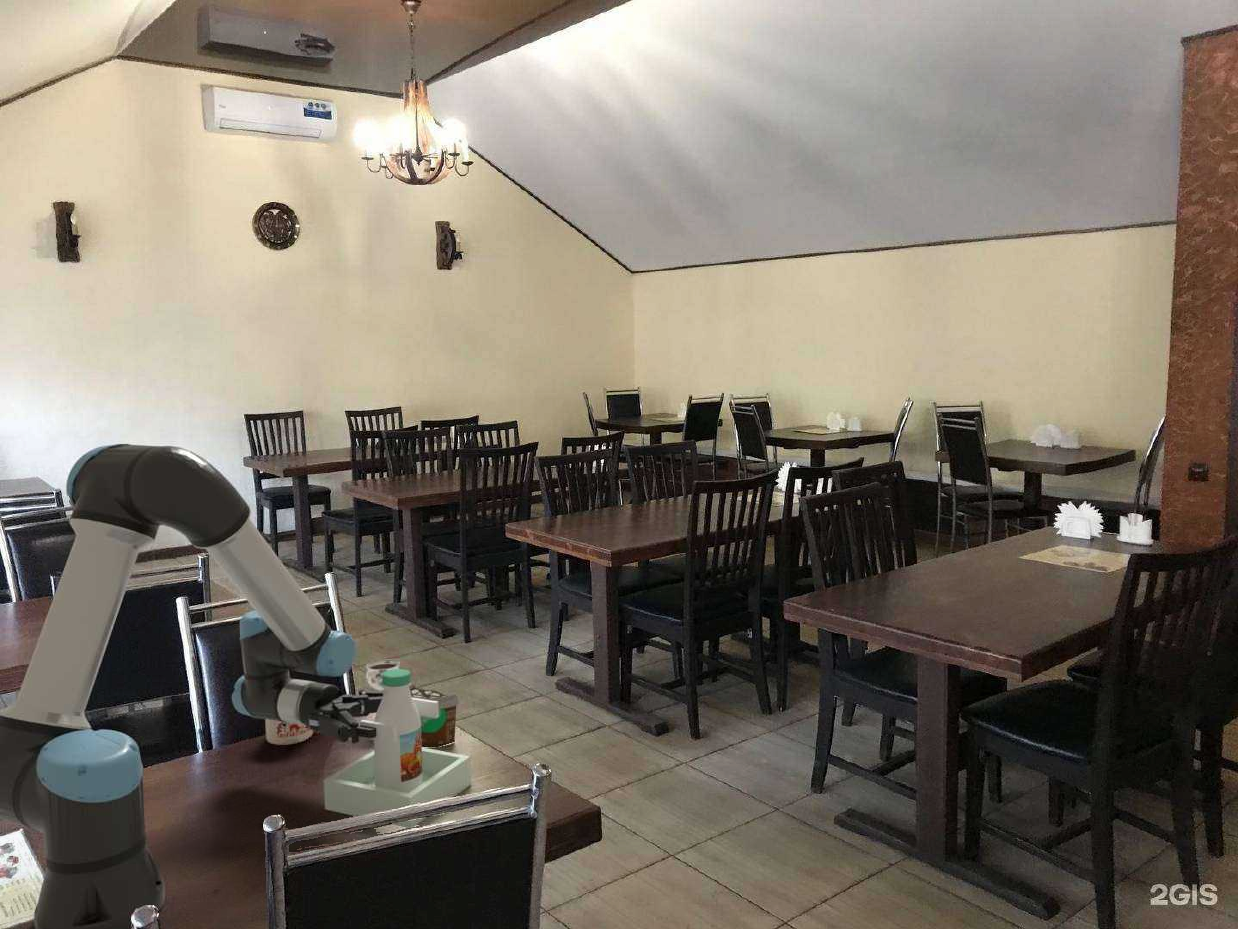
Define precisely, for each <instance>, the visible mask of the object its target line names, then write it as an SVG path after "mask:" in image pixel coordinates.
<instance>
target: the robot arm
mask: <svg viewBox="0 0 1238 929" xmlns="http://www.w3.org/2000/svg"><path fill="white" fill-rule="evenodd" d="M65 486H66V487H65V488H66V489H65V491H66V496H68V498H69V500H68V503H69V505H70V507H71V508H72V509H73V510H72V513H71V516H70V518H69V520H68V523H69V524H70V526H71V528H72V529H73V532H74V533H75V538H74V542H73V545H72V547H71V550H70V553H69V555H68V558H67V560H66V563H65V566H64V569H63V571H62V574H61V576H60V577H61V578H60V580H59V582H58V585H57V588H56V590H55V593H54V596H53V598H52V601H51V604H50V607H49V610H48V613H47V615H46V618H45V621H44V623H43V626H42V628H41V632H40V635H39V637H38V640H37V643H36V645H35V648H34V651H33V653H32V656H31V659H30V662H29V665H28V667H27V670H26V672H25V675H24V678H23V681H22V684H21V686H20V690H19V691H18V695H17V697H16V700H15V701H14V702H13V703H12V704H10V705H8V706H7V707H5V708H3V709H2V710H0V821H1V822H8V823H11V824H15V825H18V826H20V827H24V828H26V829H27V828H28V829H31V830H33V831H38V832H41V833H42V835H43V845H44V846H43V847H44V855H45V867H46V868H45V873H44V877H43V881H42V884H41V889H40V892H39V896H38V901H37V903H36V904H37V905H36V906H35V910H34V914H33V922H34V923H33V924H34V929H131V914H132V913H133V912H134V911H135V909H136V908H140V907H142V906H145V905H154V906H156V907H157V908H158V910H159V911H160V910H161V909H162V908H163V905H164V903H165V899H166V894H165V883H164V879H163V877H162V875H161V873H160V870H159V868H158V867H157V864H156V862H155V860H154V858H153V856H152V854H151V852H150V850H149V847H148V845H147V833H146V830H147V829H146V818H145V817H146V815H145V797H144V781H143V780H144V779H143V778H144V777H143V776H144V775H143V773H144V765H143V762H142V759H141V754H140V748H139V746H138V744H137V742H136V741H135V740H134V739H133V738H132V737H131V736H129V735H127V734H126V733H123V732H120V731H117V730H112V729H98V730H94V729H92V726H91V725H90V723H89V721H88V720H87V718H86V716H85V715H86V714H85V710H86V708H87V705H88V702H89V699H90V696H91V693H92V690H93V687H94V684H95V681H96V679H97V675H98V673H99V669H100V666H101V664H102V661H103V658H104V654H105V652H106V649H107V646H108V644H109V640H110V637H111V634H112V631H113V628H114V625H115V623H116V619H117V616H118V614H119V611H120V609H121V605H122V602H123V600H124V596H125V594H126V590H127V588H128V585H129V582H130V578H131V576H132V572H133V570H134V568H135V565H136V564H135V563H136V561H137V559H138V556H139V553H140V552H141V550H143V549H144V548H146V547H147V548H148V546H151V545H152V544H154V543H155V539H156V537H157V534H158V531H159V529H160V526H165V527H168V528H171V529H173V530H175V531H177V532H179V533H180V534H182V535H183V536H184V537H185V538H186V539H187V540H188V541H189V542H190V544H191V545H192V546H193V547H195V548H196V549H201V550H203V549H205V550H206V551H207V553H208V554H209V555H210V556H211V558H212V559H213V561H215V563H216V564H217V565H218V566H219V568H220V569H221V570H222V571H223V573H224V574H225V576H227V577H228V578H229V580H230V581H231V582H232V584H233V585H234V586H235V588H237V590H238V591H239V592H240V593H241V595H242V596H243V597H244V598H245V600H247V602H248V603H249V605H250V606H252V608H253V610H251V611H248V612H246V613H245V614H243V615H241V617H240V619H239V634H240V635H239V636H240V637H239V642H240V648H241V657H242V666H243V673H244V674H243V675H242V676H240V677H238V679H237V681H236V682H235V684H234V686H233V688H234V690H233V692H232V694H231V702H232V704H233V707H234V708H235V710H236V711H237V712H238V713H240V714H242V715H246V716H249V717H252V718H254V719H259V720H261V719H262V720H265V719H269V720H275V721H281V722H286V723H292V724H297V725H298V726H299V727H301V726H307V727H310V729H311V730H313V731H317V732H320V733H322V734H324V735H326V736H329V737H330V738H332V739H334V740H337V741H339V742H341V743H347V742H349V738H351V743H352V744H358V743H359V742H360V738H361V739H362V738H363V739H367V740H372V741H374V740H378V741H383V742H389V743H395V742H397V734H396V725H391V724H386V723H380V722H374V721H375V720H373V721H372V720H368V719H367V720H366V719H362V720H360V722H359V721H358V720H357V719H356V718H361V717H368V716H369V715H370V714H376V713H377V710H378V708H379V706H380V703H381V701H382V698H383V693H384V691H380V690H370V689H363V688H362V689H359V690H358V695H357V694H356V695H353V694H350V693H348V694H344V693H342V691H341V689H340V688H339V687H338V686H337V685H335V684H330V683H329V684H328V683H322V682H316V681H312V680H307V679H306V680H304V679H297V678H291V677H290V671H295V672H300V673H306V674H312V675H317V676H319V677H334V678H335V677H340V676H343V675H345V674H346V673H347V672H349V670H350V669H351V667H352V666H353V664H354V662H355V659H356V655H357V646H356V642H355V639H354V638H353V636H352V635H350V634H349V633H346V632H342V631H341V630H334V629H332V628H331V626H330V625H329V624H328V623H327V621H326V620H325V619H324V618H323V616H322V615H321V613H320V612H319V610H317V608H316V607H315V606H314V603H313V602H311V600H310V598H309V597H308V596H307V595H306V593H305V592H304V590H303V588H302V587H300V585H299V584H298V582H297V581H296V580H295V578H294V577H293V575H292V574H291V573H290V572H289V570H288V569H287V568H286V566H285V565H284V564H283V562H282V561H281V559H280V558H279V557H278V555H277V554H276V552H275V551H274V550H273V549H272V547H271V546H270V544H269V543H268V542H267V541H266V539H265V537H264V536H263V535H262V534H261V532H260V531H259V530H258V528H257V527H256V526H255V524H254V523H253V522H252V520H251V518H250V517H251V515H252V511H251V508H250V506H249V505H248V503H247V502H246V500H245V499H244V498H243V497H242V495H241V494H240V493H239V491H238V490H237V488H236V487H234V484H232V483H231V481H229V480H228V479H227V478H226V477H225V476H224V475H223V473H222V472H220V471H219V470H218V469H217V468H216V467H215V466H214V465H212V463H210V462H208V461H207V460H206V459H205V458H204V457H202V456H201V455H199V454H197V453H195V452H193V451H191V450H188V449H186V448H184V447H180V446H174V445H161V446H159V445H145V444H144V445H141V444H130V443H116V444H111V445H110V444H108V445H103V446H97V447H96V448H93V449H91V450H89V451H87V452H86V453H84V454H83V455H81V457H79V458H78V460H76V461H75V463H74V464H73V465H72V467H71V469H70V471H69V473H68V477H67V480H66V485H65ZM410 693H411V696H412V691H410ZM412 699H413V701H414V703H415V705H416V707H417V709H418V712H419V715H420V716H425V717H431V718H438V717H439V705H438V701H432V700H425V699H419V698H413V696H412ZM362 708H363V709H362Z"/></svg>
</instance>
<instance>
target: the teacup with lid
mask: <svg viewBox="0 0 1238 929" xmlns="http://www.w3.org/2000/svg"><path fill="white" fill-rule="evenodd" d="M264 720H265V736H266V737H265V738H266V741H267V742H268V743H269V744H272V745H277V746H287V745H294V744H298V742H299V743H302V742H304V741H307V740H308V739H309V737H310V738H311V737H312V735H313V734H314V730H311V729H310V727H307V726H301V727H299V726H298V725H297V724H292V723H286V722H281V721H275V720H269V719H264ZM306 739H307V740H306Z"/></svg>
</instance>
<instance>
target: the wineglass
mask: <svg viewBox="0 0 1238 929" xmlns="http://www.w3.org/2000/svg"><path fill="white" fill-rule="evenodd" d="M400 664H401V662H400V661H399V660H396V659H390V658H389V659H378V660H373V661H370V662H369V663H367V664H366V665H365V667H366V669H367V671H366V674H365V677H366V680H367V684H369V685H370V686H371V687H372V688H373V689H374V690H377V691H384V688H383V687H382V685H383V683H382V675H383V673H384V672H386V671H389V670H395V669H400Z"/></svg>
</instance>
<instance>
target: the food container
mask: <svg viewBox="0 0 1238 929" xmlns="http://www.w3.org/2000/svg"><path fill="white" fill-rule="evenodd" d="M409 689H410V691H412V696H413V698H419V699H425V700H432V701H438V705H439V717H438V718H431V717H425V716H420V720H421V738H422V747H429V748H428V749H431V748H430V747H439V746H443V745H446V744H449V743H452V742H455V741H456V719H457V706H458V705H459V704H460V702H459V698H458V695H457V693H454V694H449V695H445V694H443V693H441V692H439V691H437V690H432V689H431V690H429V689H422V688H419V687H416V682H413V683H411V685H410V686H409Z"/></svg>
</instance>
